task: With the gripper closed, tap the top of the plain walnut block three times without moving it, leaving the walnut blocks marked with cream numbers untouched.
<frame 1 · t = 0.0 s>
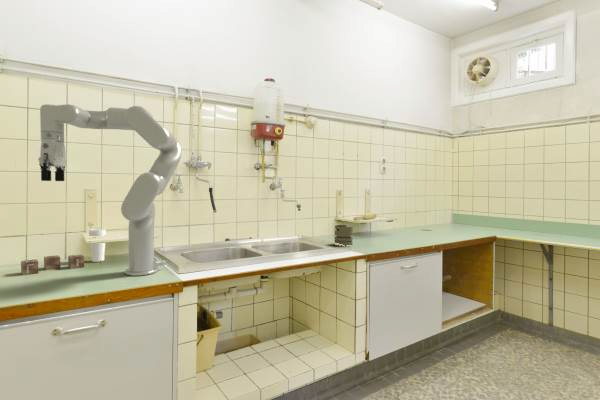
hand: (53, 180, 136), 37 cm above the counter, tool pointing down, fingers open, 9 cm apart
block seven: (29, 273, 139), on the counter
plain block: (52, 268, 148), on the counter
block one: (76, 267, 150), on the counter
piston: (343, 245, 217), on the counter
white cup: (97, 261, 162), on the counter
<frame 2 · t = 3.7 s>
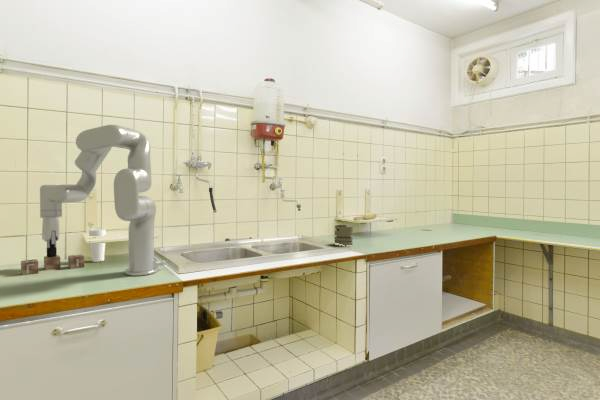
hand: (51, 256, 147), 5 cm above the counter, tool pointing down, fingers closed
plain block: (52, 268, 148), on the counter, touching gripper
everything else where it was.
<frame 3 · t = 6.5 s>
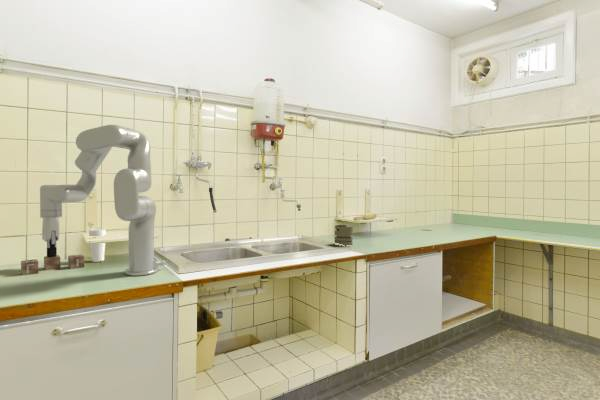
hand: (51, 256, 147), 5 cm above the counter, tool pointing down, fingers closed
nothing on the counter moved.
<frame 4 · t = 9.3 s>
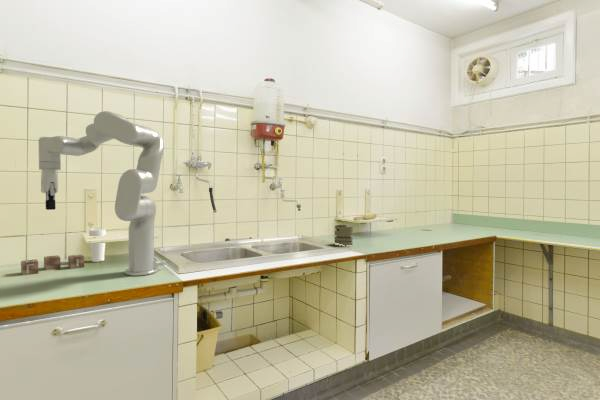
hand: (50, 209, 148), 25 cm above the counter, tool pointing down, fingers closed
plain block: (52, 268, 148), on the counter
everything else where it was.
at the end: plain block moved 0.1 cm from its start; plain block tilted 0°; the gripper is holding nothing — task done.
